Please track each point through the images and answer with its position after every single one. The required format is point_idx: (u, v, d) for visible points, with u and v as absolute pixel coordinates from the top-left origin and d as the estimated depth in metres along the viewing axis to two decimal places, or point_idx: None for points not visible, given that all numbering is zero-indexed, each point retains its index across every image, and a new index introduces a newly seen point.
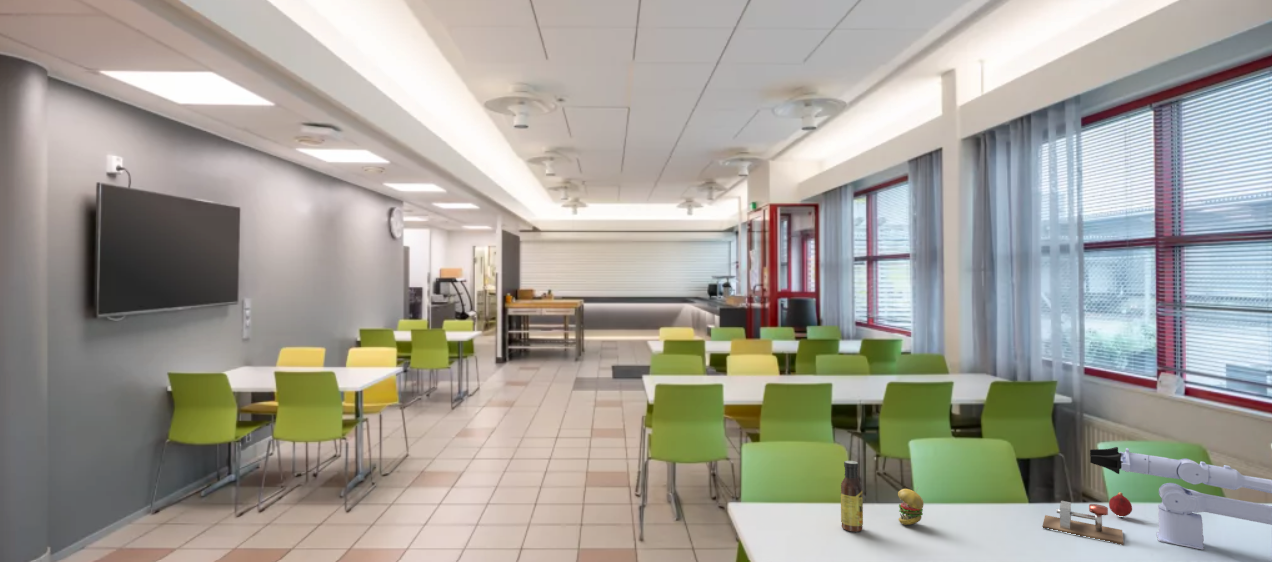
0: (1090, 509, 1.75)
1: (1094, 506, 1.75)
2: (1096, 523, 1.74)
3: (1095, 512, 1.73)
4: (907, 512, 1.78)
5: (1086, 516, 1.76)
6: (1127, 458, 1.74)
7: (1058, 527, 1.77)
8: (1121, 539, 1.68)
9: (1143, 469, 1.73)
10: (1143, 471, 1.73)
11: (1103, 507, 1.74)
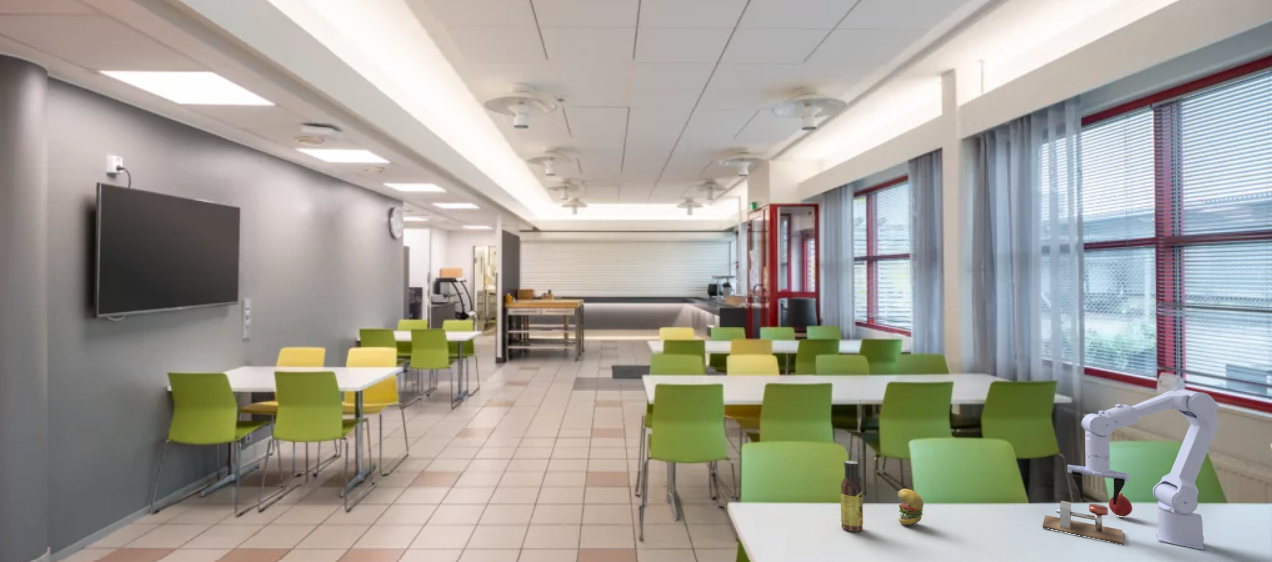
0: (1090, 509, 1.75)
1: (1094, 506, 1.75)
2: (1096, 523, 1.74)
3: (1095, 512, 1.73)
4: (907, 512, 1.78)
5: (1086, 516, 1.76)
6: (1113, 475, 1.71)
7: (1058, 527, 1.77)
8: (1121, 539, 1.68)
9: None
10: None
11: (1103, 507, 1.74)
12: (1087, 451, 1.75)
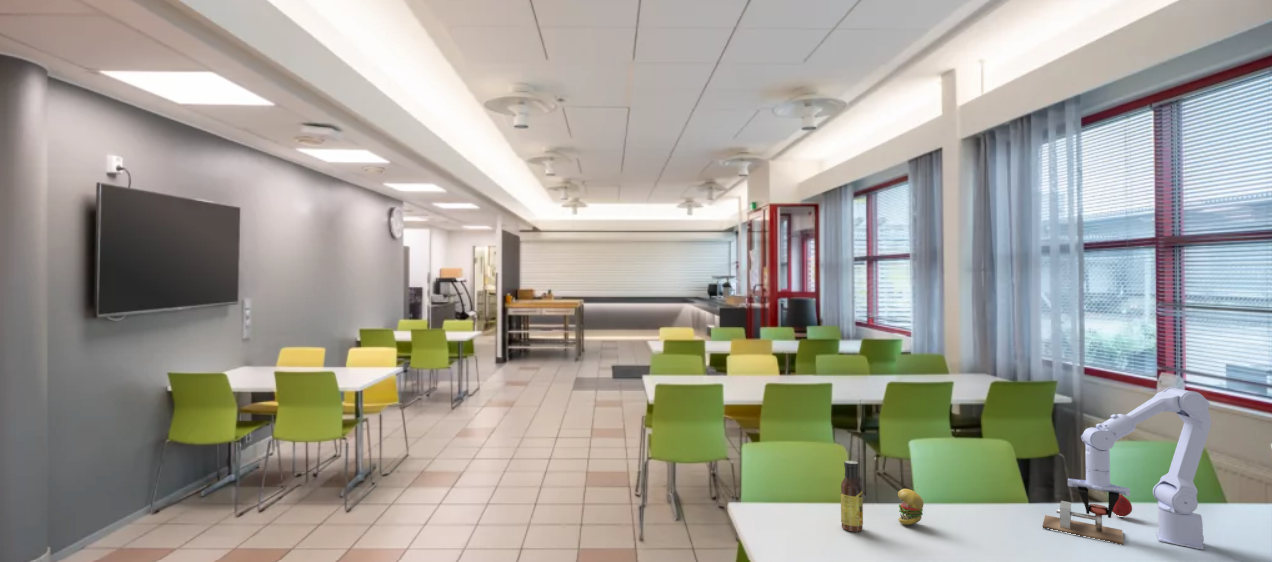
0: (1090, 509, 1.75)
1: (1094, 506, 1.75)
2: (1096, 523, 1.74)
3: (1095, 512, 1.73)
4: (907, 512, 1.78)
5: (1086, 516, 1.76)
6: (1114, 489, 1.71)
7: (1058, 527, 1.77)
8: (1121, 539, 1.68)
9: None
10: None
11: (1103, 507, 1.74)
12: (1087, 465, 1.75)
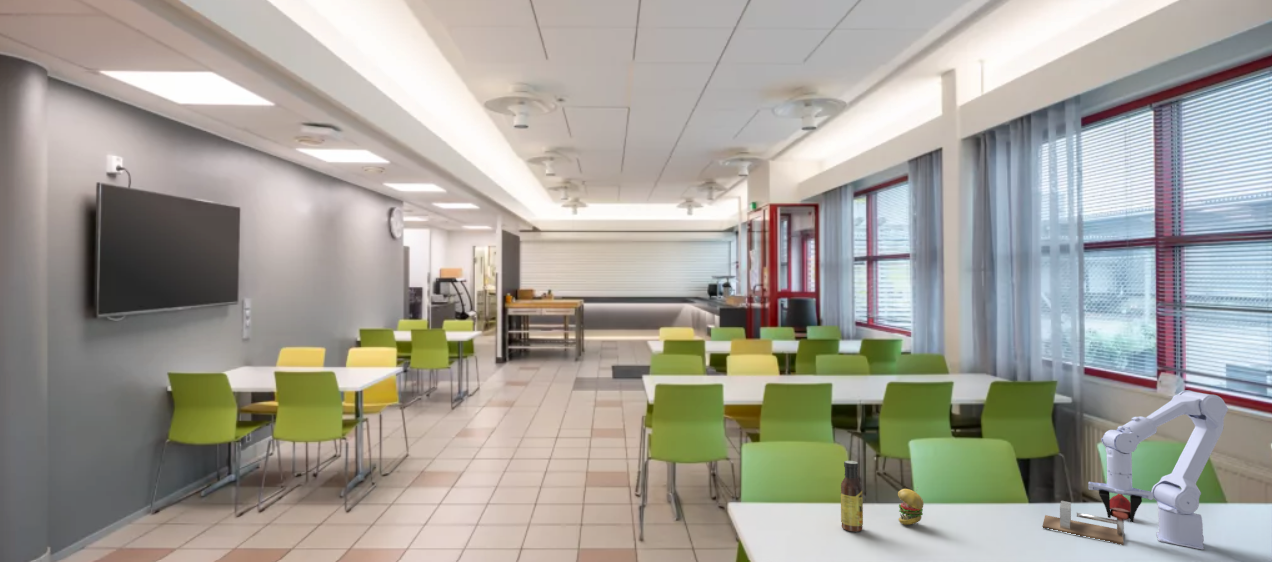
0: (1112, 513, 1.72)
1: (1116, 510, 1.72)
2: (1118, 527, 1.71)
3: (1117, 516, 1.70)
4: (907, 512, 1.78)
5: (1107, 520, 1.73)
6: (1136, 493, 1.68)
7: (1058, 527, 1.77)
8: (1121, 539, 1.68)
9: None
10: None
11: (1125, 511, 1.71)
12: (1110, 469, 1.72)
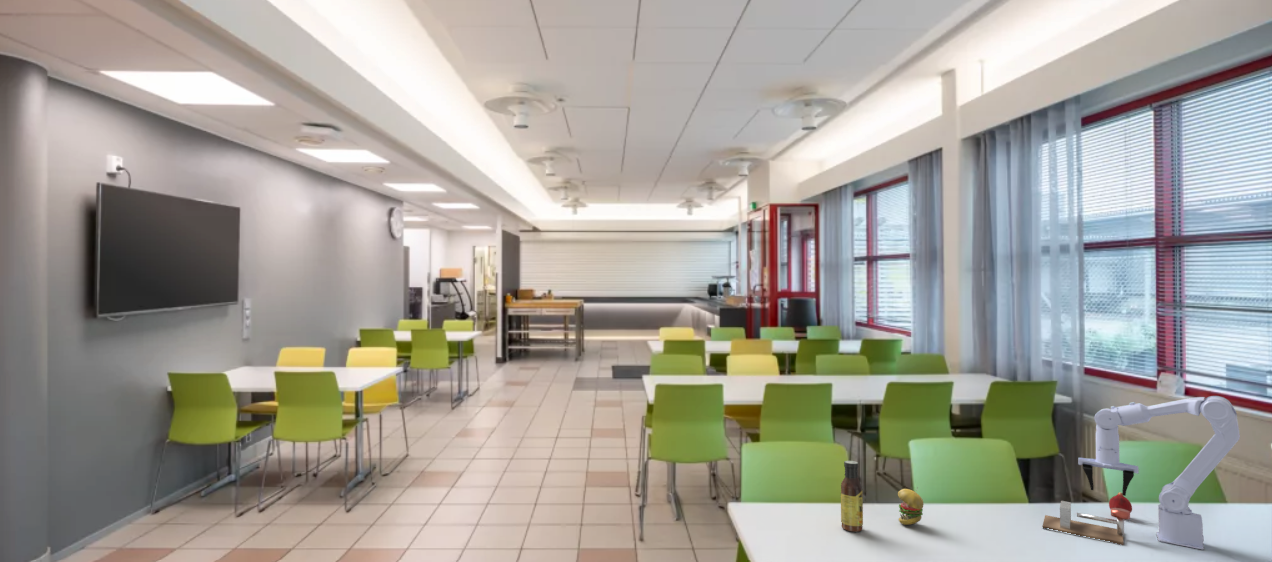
0: (1112, 513, 1.72)
1: (1116, 510, 1.72)
2: (1118, 527, 1.71)
3: (1117, 516, 1.70)
4: (907, 512, 1.78)
5: (1107, 520, 1.73)
6: (1123, 467, 1.78)
7: (1058, 527, 1.77)
8: (1121, 539, 1.68)
9: None
10: None
11: (1125, 511, 1.71)
12: None
